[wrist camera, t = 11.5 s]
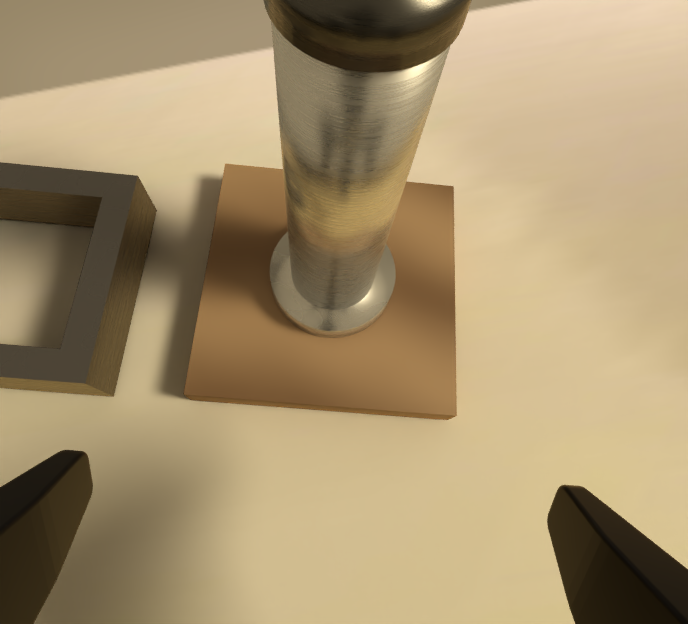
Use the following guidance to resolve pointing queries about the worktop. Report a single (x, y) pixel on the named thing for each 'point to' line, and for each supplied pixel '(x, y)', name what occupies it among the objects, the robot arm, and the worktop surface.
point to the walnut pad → (318, 352)
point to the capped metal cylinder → (349, 146)
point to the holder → (82, 273)
